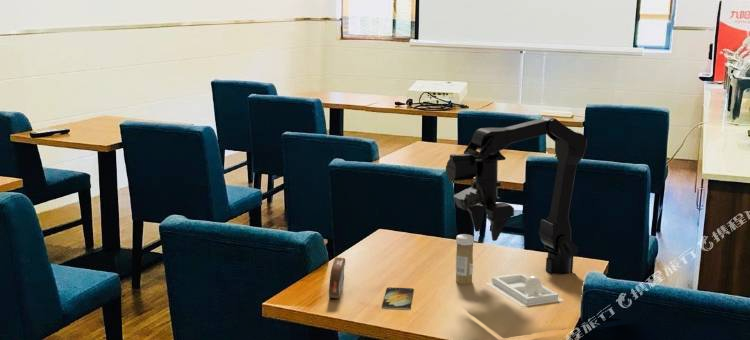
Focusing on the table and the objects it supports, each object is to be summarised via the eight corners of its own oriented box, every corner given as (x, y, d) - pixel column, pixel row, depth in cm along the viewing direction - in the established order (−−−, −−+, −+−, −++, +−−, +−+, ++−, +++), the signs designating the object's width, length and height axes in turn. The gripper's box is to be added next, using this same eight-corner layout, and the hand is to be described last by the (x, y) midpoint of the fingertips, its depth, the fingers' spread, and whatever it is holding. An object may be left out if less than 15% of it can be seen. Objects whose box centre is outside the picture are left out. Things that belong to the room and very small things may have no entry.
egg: (535, 292, 215) (536, 272, 214) (545, 298, 211) (546, 277, 210) (520, 294, 213) (521, 274, 212) (529, 300, 209) (530, 279, 208)
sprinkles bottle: (475, 286, 222) (477, 236, 220) (462, 289, 220) (464, 239, 217) (464, 281, 226) (466, 232, 223) (451, 284, 224) (452, 235, 221)
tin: (334, 283, 224) (334, 252, 222) (346, 283, 224) (346, 252, 222) (327, 303, 209) (327, 270, 207) (340, 303, 209) (340, 271, 207)
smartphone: (414, 288, 220) (410, 308, 205) (414, 290, 220) (410, 311, 205) (386, 287, 221) (381, 307, 206) (386, 289, 221) (381, 309, 206)
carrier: (525, 281, 226) (526, 272, 226) (564, 304, 210) (564, 294, 210) (485, 286, 222) (486, 277, 222) (522, 310, 206) (522, 300, 205)
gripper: (442, 173, 224) (442, 230, 228) (476, 188, 207) (475, 249, 211) (479, 169, 228) (478, 225, 232) (515, 184, 211) (514, 244, 215)
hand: (485, 235), depth 222 cm, fingers open, 9 cm apart
